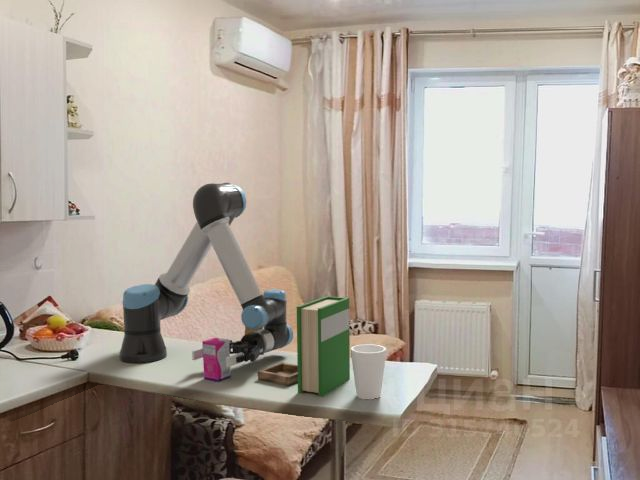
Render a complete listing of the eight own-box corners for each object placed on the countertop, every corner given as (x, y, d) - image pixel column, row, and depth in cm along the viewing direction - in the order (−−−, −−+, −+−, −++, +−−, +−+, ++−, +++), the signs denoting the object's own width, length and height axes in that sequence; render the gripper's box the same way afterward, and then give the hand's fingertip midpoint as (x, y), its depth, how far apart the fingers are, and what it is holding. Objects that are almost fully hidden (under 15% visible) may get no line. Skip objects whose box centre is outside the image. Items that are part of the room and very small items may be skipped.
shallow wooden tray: (258, 379, 196) (257, 371, 196) (281, 370, 205) (281, 362, 205) (289, 386, 190) (288, 377, 189) (312, 376, 199) (312, 367, 199)
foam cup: (356, 389, 186) (355, 343, 185) (388, 391, 183) (388, 345, 182) (347, 400, 177) (347, 351, 176) (382, 403, 174) (381, 354, 173)
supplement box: (216, 374, 202) (215, 336, 201) (231, 377, 199) (230, 339, 198) (202, 378, 197) (201, 340, 196) (217, 382, 194) (216, 343, 193)
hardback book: (321, 396, 180) (320, 308, 178) (297, 392, 183) (296, 306, 181) (349, 379, 196) (349, 298, 193) (327, 375, 199) (326, 296, 197)
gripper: (288, 360, 206) (242, 378, 188) (227, 349, 220) (179, 365, 202) (287, 336, 205) (242, 352, 188) (226, 327, 219) (179, 340, 202)
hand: (209, 358), depth 195 cm, fingers open, 13 cm apart
